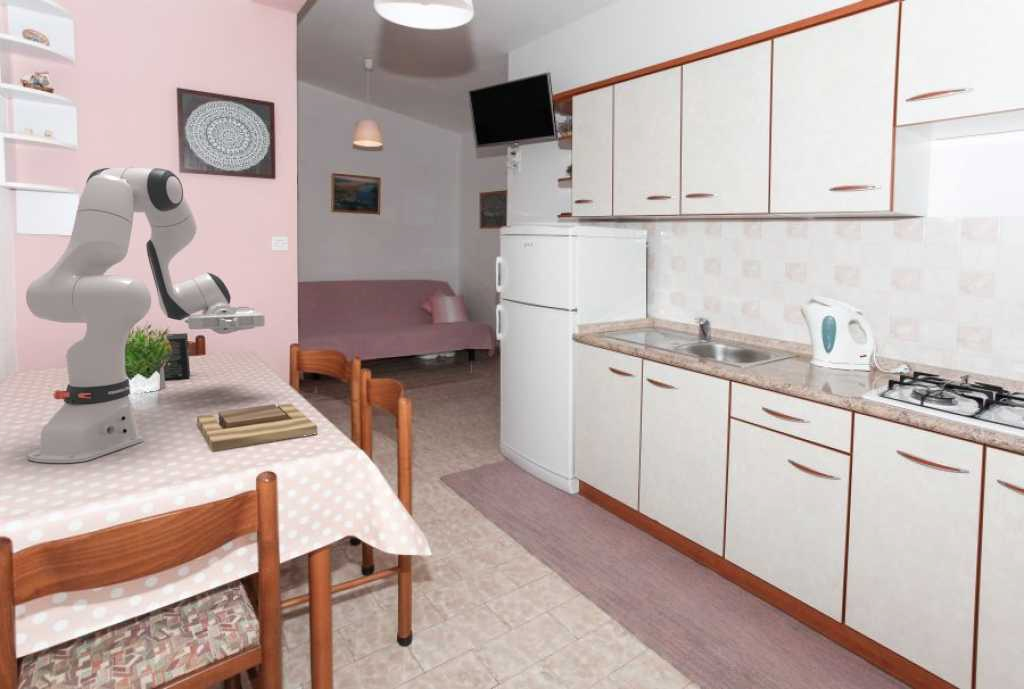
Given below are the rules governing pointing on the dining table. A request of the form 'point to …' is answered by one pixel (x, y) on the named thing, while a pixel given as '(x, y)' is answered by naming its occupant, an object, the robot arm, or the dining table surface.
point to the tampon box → (177, 358)
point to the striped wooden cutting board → (256, 430)
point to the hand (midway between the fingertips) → (231, 323)
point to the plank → (250, 416)
